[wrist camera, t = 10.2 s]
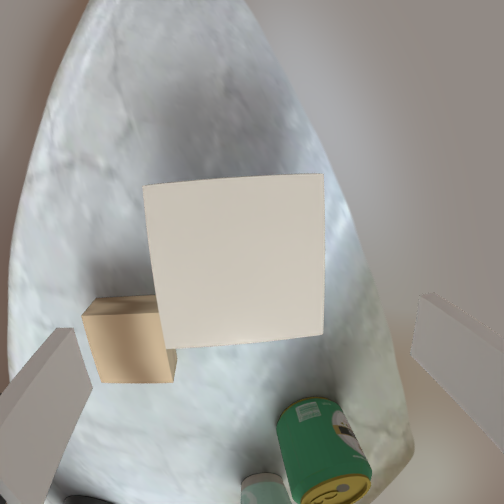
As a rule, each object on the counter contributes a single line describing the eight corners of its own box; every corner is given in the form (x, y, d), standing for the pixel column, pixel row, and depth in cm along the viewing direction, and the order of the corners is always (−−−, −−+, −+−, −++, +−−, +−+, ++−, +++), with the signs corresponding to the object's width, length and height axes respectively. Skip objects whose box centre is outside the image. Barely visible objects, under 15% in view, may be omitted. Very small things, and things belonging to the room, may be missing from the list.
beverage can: (350, 416, 35) (387, 486, 23) (297, 448, 35) (319, 522, 24) (320, 382, 33) (358, 461, 21) (261, 418, 33) (278, 502, 22)
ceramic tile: (169, 335, 23) (166, 349, 21) (149, 184, 20) (142, 186, 18) (315, 322, 24) (322, 334, 22) (314, 173, 21) (323, 173, 19)
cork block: (112, 360, 30) (101, 382, 26) (96, 297, 28) (81, 315, 24) (177, 358, 30) (173, 382, 26) (166, 294, 29) (158, 312, 25)
